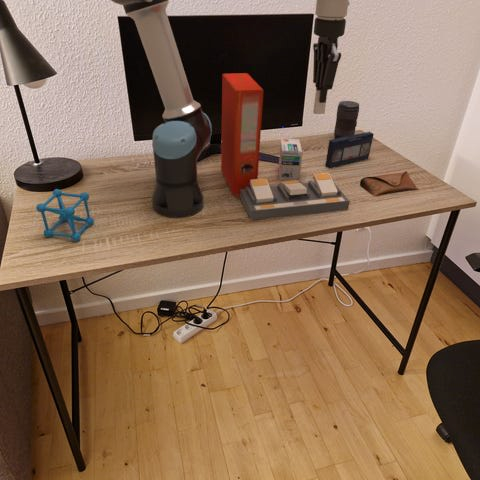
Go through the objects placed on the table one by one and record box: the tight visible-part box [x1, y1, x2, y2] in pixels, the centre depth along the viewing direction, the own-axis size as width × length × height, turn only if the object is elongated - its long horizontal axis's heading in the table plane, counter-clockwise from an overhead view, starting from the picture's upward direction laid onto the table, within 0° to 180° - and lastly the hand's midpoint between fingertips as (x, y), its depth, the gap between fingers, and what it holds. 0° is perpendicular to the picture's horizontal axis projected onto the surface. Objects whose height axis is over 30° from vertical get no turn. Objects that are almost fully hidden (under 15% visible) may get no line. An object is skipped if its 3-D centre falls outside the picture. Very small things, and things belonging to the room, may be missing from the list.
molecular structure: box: [36, 188, 95, 242], centre depth 113 cm, size 10×10×10 cm
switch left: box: [250, 178, 274, 203], centre depth 127 cm, size 5×8×2 cm, turn 14°
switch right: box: [312, 172, 338, 197], centre depth 131 cm, size 5×8×2 cm, turn 14°
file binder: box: [220, 72, 265, 196], centre depth 132 cm, size 8×17×32 cm, turn 14°
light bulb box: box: [278, 138, 304, 182], centre depth 144 cm, size 11×7×11 cm, turn 179°
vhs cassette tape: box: [324, 131, 375, 169], centre depth 153 cm, size 18×3×10 cm, turn 118°
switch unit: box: [239, 180, 351, 221], centre depth 130 cm, size 30×13×4 cm, turn 104°
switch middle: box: [280, 180, 307, 195], centre depth 129 cm, size 5×8×2 cm, turn 14°
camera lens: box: [333, 100, 360, 139], centre depth 168 cm, size 8×8×15 cm
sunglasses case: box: [359, 171, 419, 198], centre depth 141 cm, size 18×7×7 cm
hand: (318, 112), depth 119 cm, fingers closed
